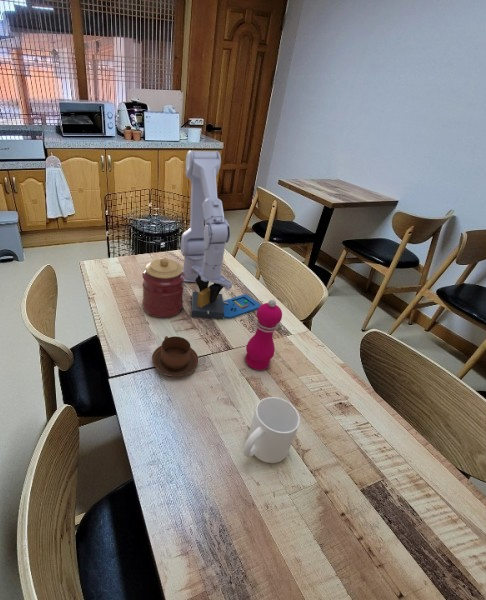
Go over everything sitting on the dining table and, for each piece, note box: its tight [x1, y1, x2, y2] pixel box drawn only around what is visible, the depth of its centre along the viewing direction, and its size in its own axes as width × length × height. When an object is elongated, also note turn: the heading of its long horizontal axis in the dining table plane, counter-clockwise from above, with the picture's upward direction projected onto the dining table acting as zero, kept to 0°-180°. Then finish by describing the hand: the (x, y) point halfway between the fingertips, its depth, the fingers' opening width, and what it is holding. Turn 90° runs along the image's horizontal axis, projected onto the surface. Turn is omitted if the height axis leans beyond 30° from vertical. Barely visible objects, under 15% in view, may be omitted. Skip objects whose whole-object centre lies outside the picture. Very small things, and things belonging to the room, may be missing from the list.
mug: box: [242, 396, 301, 464], centre depth 67 cm, size 12×8×10 cm
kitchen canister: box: [142, 256, 185, 319], centre depth 105 cm, size 13×13×18 cm
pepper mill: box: [245, 299, 283, 371], centre depth 85 cm, size 7×7×20 cm
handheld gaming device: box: [223, 293, 262, 320], centre depth 112 cm, size 8×1×15 cm
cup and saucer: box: [151, 335, 199, 377], centre depth 87 cm, size 12×12×6 cm
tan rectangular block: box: [197, 286, 220, 308], centre depth 108 cm, size 9×2×5 cm, turn 137°
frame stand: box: [187, 291, 228, 320], centre depth 110 cm, size 13×13×3 cm
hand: (208, 299), depth 109 cm, fingers open, 3 cm apart
